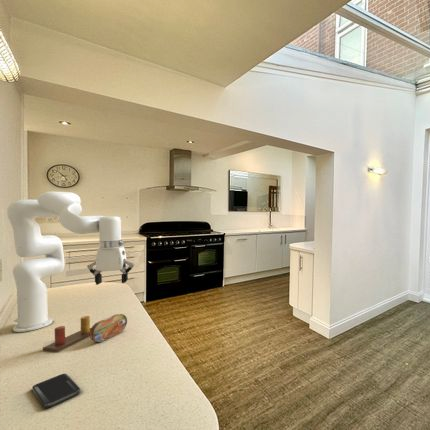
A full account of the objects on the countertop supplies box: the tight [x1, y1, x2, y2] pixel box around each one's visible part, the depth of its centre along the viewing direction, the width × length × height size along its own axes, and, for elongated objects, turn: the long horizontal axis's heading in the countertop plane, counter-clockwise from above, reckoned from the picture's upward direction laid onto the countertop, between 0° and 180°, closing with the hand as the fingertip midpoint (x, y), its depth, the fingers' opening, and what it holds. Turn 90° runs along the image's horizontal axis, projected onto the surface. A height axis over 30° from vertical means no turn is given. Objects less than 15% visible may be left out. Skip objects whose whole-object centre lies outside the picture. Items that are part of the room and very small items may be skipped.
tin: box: [89, 313, 128, 343], centre depth 115 cm, size 15×3×8 cm, turn 168°
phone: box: [32, 373, 81, 409], centre depth 82 cm, size 8×1×15 cm
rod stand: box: [42, 315, 92, 353], centre depth 112 cm, size 7×17×8 cm, turn 172°
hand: (111, 283), depth 116 cm, fingers open, 9 cm apart
